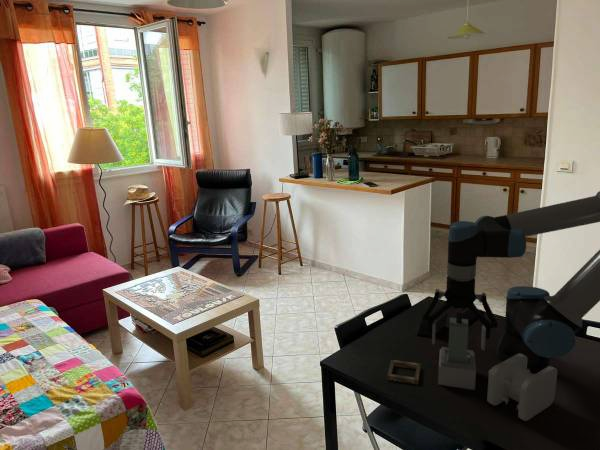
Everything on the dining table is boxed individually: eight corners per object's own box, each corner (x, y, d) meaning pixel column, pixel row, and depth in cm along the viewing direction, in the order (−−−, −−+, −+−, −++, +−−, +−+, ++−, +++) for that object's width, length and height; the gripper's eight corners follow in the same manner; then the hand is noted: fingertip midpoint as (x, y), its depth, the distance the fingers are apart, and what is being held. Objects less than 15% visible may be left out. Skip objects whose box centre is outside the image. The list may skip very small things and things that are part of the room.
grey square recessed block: (473, 370, 136) (474, 350, 134) (474, 389, 126) (476, 368, 125) (439, 366, 139) (439, 345, 137) (438, 384, 130) (438, 363, 128)
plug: (465, 356, 133) (468, 309, 129) (466, 365, 128) (468, 317, 124) (448, 354, 134) (450, 308, 131) (447, 362, 130) (450, 315, 126)
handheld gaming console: (416, 318, 167) (433, 301, 163) (431, 329, 168) (449, 312, 163) (415, 337, 157) (434, 319, 153) (432, 348, 157) (451, 331, 153)
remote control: (471, 311, 177) (453, 323, 166) (471, 307, 176) (454, 319, 166) (483, 314, 173) (466, 327, 163) (483, 310, 173) (466, 322, 162)
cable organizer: (521, 427, 111) (525, 386, 108) (484, 405, 120) (487, 367, 117) (554, 405, 119) (559, 366, 116) (517, 386, 128) (520, 349, 125)
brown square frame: (420, 367, 138) (420, 363, 138) (418, 384, 130) (418, 380, 130) (391, 363, 141) (391, 359, 141) (387, 380, 133) (387, 375, 133)
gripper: (508, 275, 124) (503, 343, 129) (416, 268, 132) (414, 333, 137) (511, 285, 117) (505, 357, 123) (414, 277, 125) (412, 345, 131)
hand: (457, 345), depth 130 cm, fingers open, 13 cm apart
